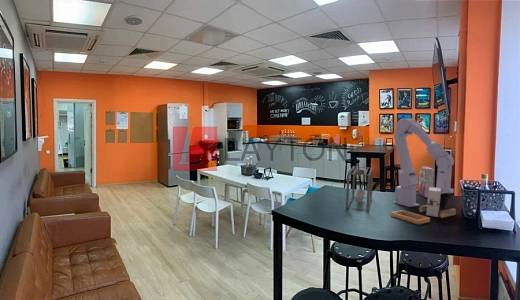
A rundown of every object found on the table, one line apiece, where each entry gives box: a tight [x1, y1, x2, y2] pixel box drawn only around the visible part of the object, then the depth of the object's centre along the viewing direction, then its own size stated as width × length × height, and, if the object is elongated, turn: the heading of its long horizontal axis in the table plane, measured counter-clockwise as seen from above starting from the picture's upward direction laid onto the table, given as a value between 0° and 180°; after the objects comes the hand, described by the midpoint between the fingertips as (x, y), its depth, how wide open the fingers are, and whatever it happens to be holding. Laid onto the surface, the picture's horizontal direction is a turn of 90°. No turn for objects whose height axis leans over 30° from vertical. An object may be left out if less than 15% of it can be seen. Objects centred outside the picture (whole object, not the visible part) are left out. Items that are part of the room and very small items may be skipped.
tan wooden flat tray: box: [390, 209, 431, 226], centre depth 136 cm, size 13×8×2 cm, turn 30°
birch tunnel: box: [418, 204, 457, 218], centre depth 146 cm, size 11×11×2 cm
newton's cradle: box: [345, 165, 374, 212], centre depth 160 cm, size 30×10×18 cm, turn 158°
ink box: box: [425, 186, 441, 218], centre depth 144 cm, size 9×5×12 cm, turn 149°
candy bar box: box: [418, 166, 435, 199], centre depth 180 cm, size 11×5×16 cm, turn 168°
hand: (441, 209), depth 148 cm, fingers closed
